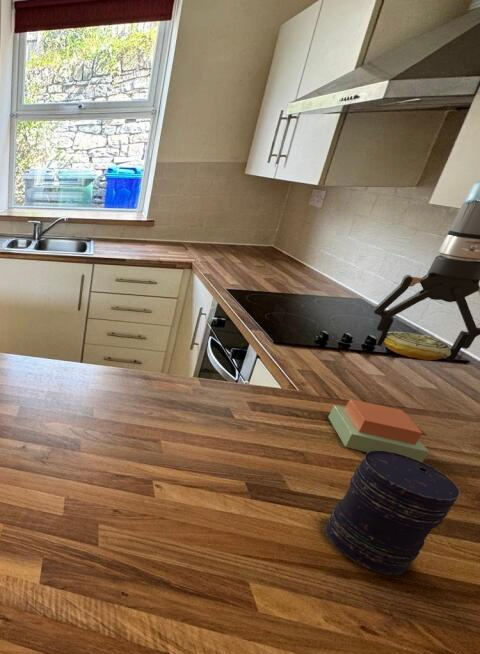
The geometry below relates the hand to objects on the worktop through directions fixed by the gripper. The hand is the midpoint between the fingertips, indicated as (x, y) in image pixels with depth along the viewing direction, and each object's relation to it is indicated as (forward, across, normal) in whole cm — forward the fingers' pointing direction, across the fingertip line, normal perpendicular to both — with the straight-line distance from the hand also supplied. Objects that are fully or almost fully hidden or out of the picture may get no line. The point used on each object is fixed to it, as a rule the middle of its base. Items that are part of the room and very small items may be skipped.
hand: (412, 351), depth 93 cm
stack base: (+16, -2, -19) cm, 25 cm away
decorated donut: (0, 0, 0) cm, 0 cm away
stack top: (+12, -2, -19) cm, 23 cm away
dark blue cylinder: (+16, -4, -56) cm, 58 cm away
